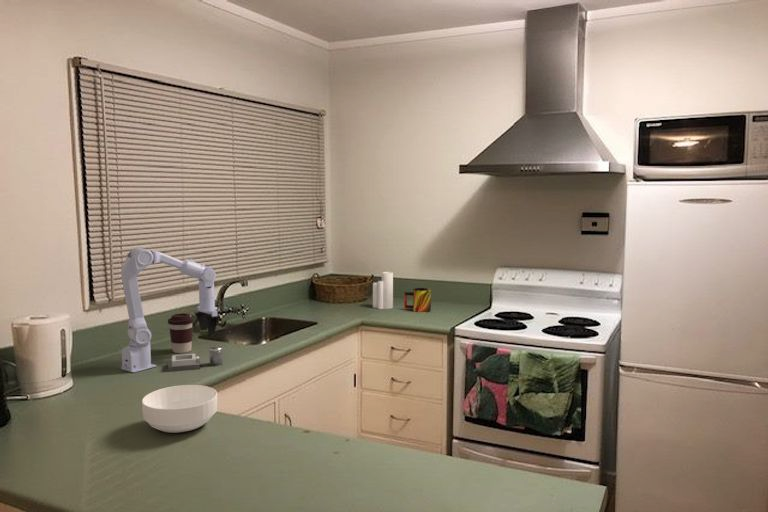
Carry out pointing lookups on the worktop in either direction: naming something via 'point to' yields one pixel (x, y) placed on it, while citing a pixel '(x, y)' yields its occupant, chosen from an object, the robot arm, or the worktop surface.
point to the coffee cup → (181, 332)
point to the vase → (383, 292)
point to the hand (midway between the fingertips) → (207, 331)
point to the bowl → (179, 407)
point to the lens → (215, 355)
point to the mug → (419, 300)
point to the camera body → (184, 362)
